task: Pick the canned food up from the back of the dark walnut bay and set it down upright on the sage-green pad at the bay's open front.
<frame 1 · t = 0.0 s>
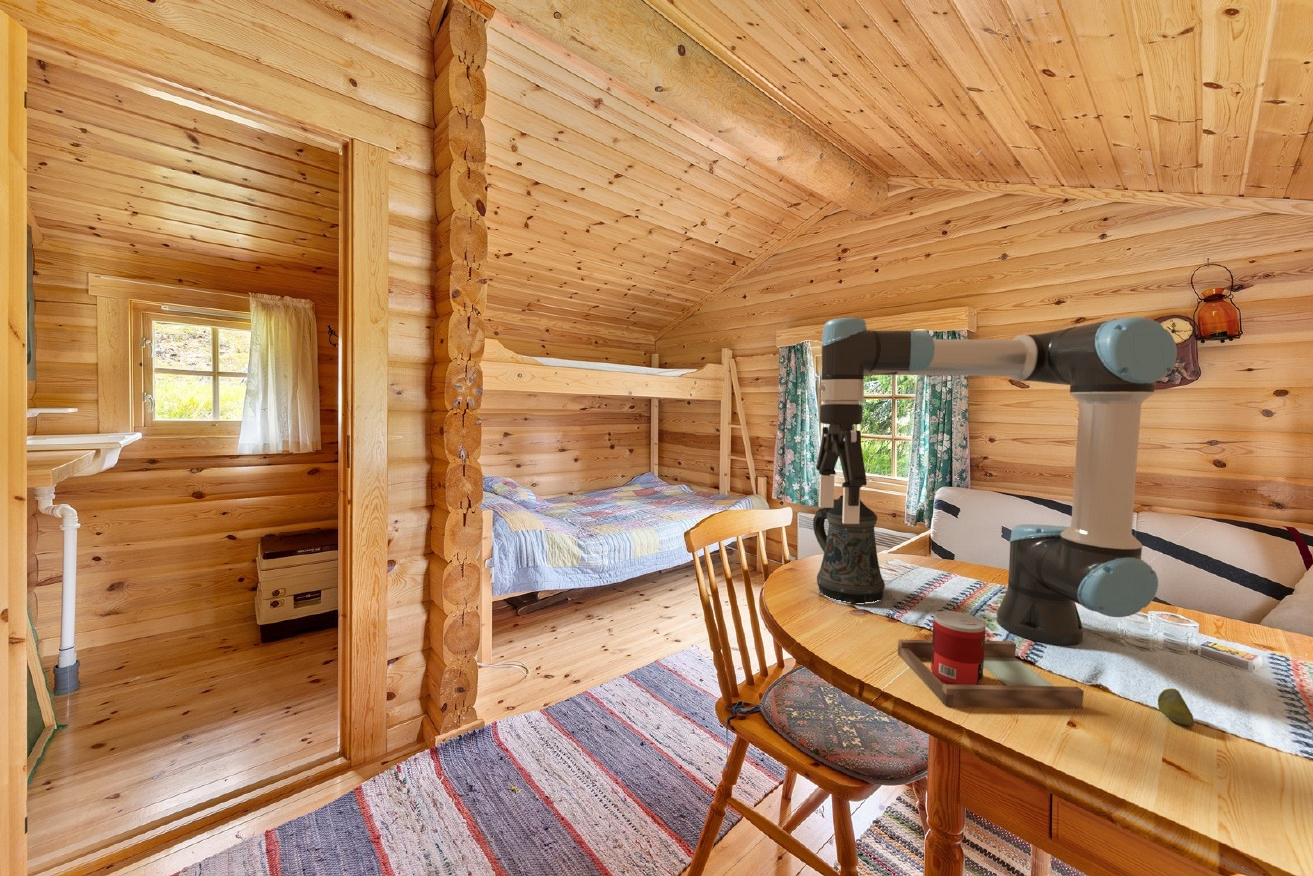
hand: (837, 514, 96), 28 cm above the table, tool pointing down, fingers open, 13 cm apart
canned food: (956, 679, 91), resting in bay
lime: (1176, 723, 79), on the table
beer stein: (843, 592, 132), on the table
bay: (981, 678, 91), on the table
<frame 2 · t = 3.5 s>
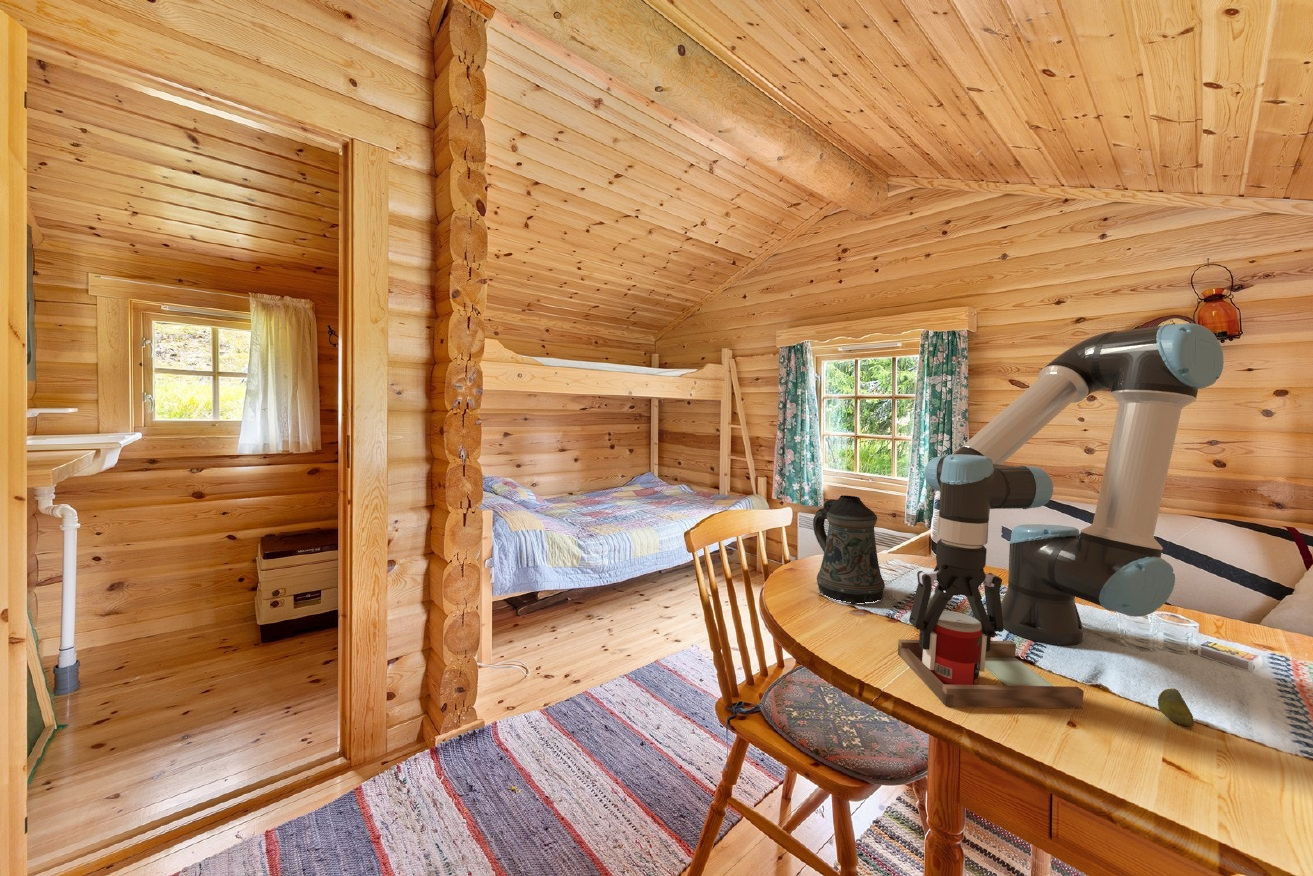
hand: (952, 666, 90), 2 cm above the table, tool pointing down, fingers closed on canned food, 8 cm apart
canned food: (952, 679, 91), resting in bay, touching gripper
everything else where it was.
when the fingers open (3 cm above the table, at t = 9.0 s): canned food stays where it is, resting on bay.
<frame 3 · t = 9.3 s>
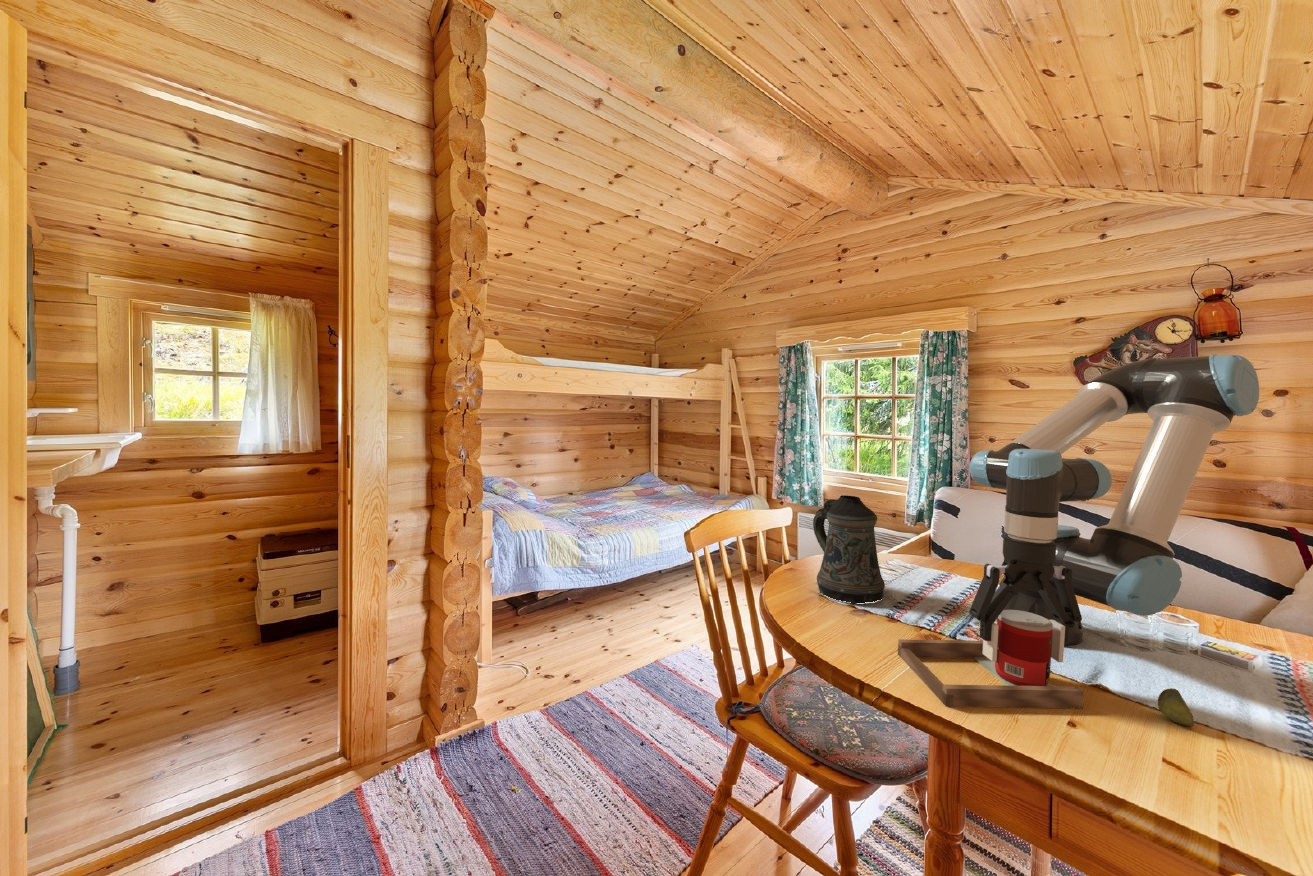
hand: (1022, 658, 90), 4 cm above the table, tool pointing down, fingers open, 11 cm apart
canned food: (1021, 678, 90), resting on bay
everything else where it was.
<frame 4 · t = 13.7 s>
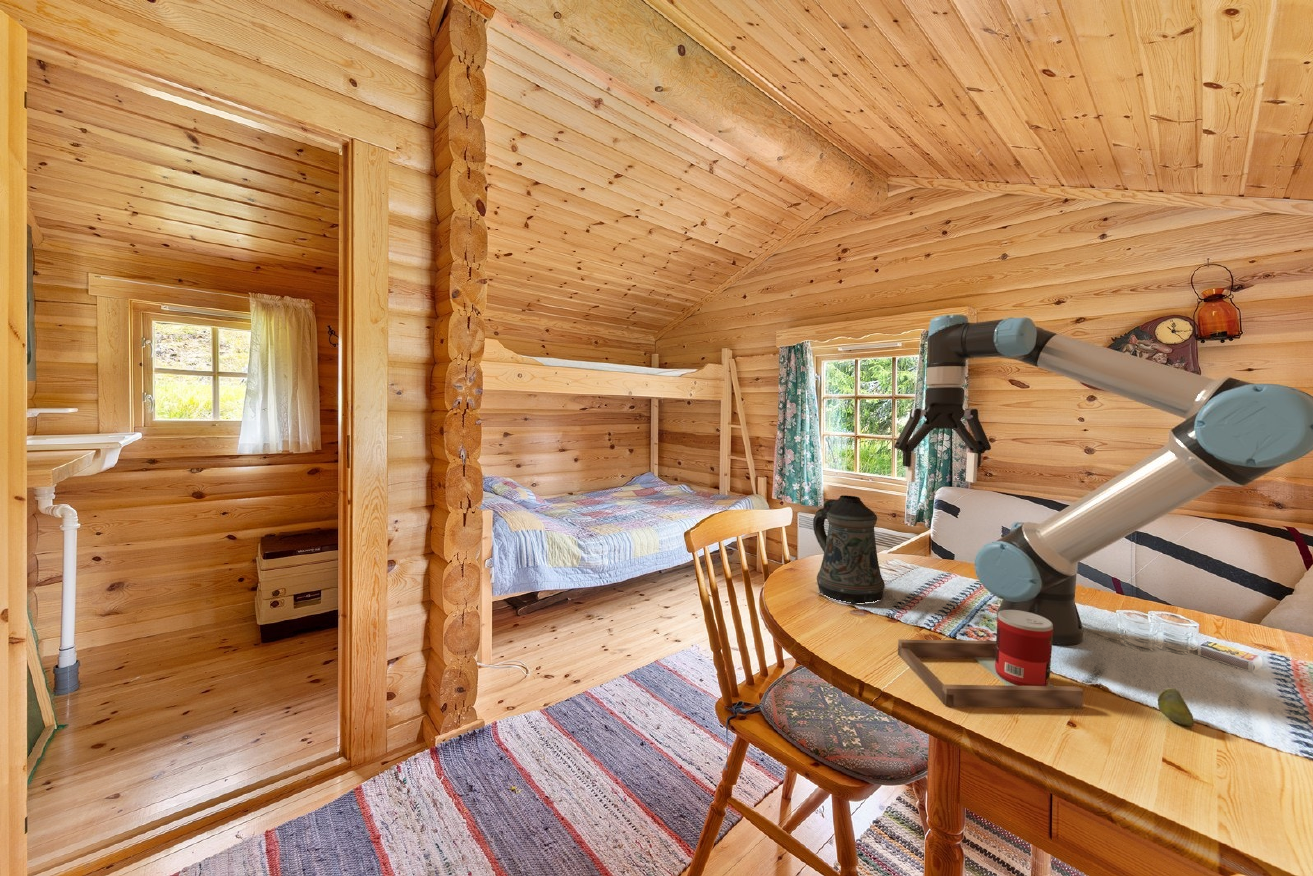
hand: (940, 481, 114), 32 cm above the table, tool pointing down, fingers open, 13 cm apart
nothing on the table moved.
at the end: canned food inside the target area on the bay (0.3 cm from its centre), point 0.1 cm above the bay's base; canned food tilted 0°; the gripper is holding nothing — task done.
